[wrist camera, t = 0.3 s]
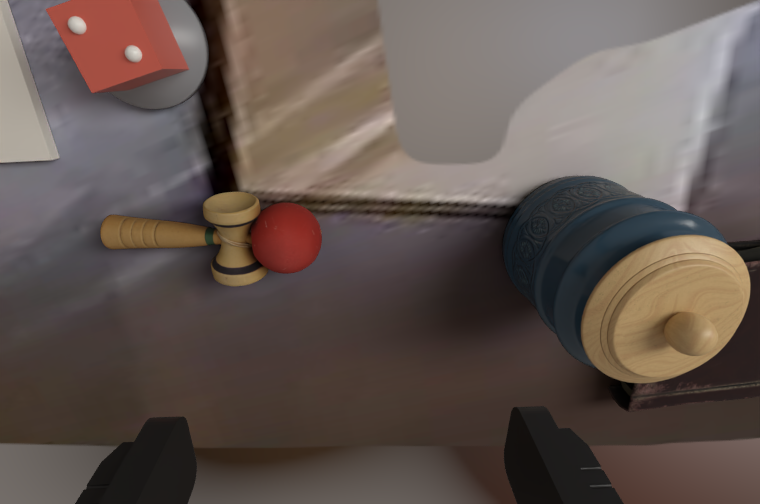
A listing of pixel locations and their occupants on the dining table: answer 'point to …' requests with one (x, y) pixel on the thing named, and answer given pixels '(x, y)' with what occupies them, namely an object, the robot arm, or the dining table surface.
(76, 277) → the dining table surface
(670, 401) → the diary
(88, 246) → the dining table surface
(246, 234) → the kendama
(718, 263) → the canister
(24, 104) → the game board
